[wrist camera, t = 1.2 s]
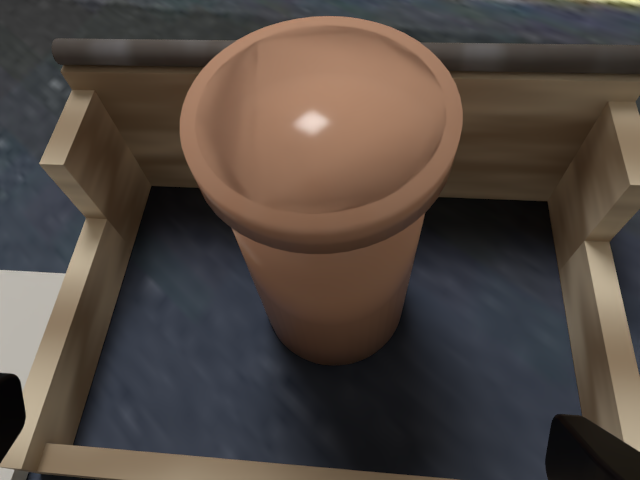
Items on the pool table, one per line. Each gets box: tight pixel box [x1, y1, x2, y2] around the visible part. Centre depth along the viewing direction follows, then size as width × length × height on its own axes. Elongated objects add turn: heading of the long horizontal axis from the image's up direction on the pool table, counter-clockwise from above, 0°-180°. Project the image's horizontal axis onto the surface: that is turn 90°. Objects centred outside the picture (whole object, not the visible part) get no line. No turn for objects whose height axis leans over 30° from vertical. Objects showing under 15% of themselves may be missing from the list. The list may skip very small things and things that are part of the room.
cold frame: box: [0, 39, 640, 480], centre depth 19 cm, size 16×23×9 cm
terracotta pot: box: [180, 16, 463, 365], centre depth 18 cm, size 7×7×12 cm
